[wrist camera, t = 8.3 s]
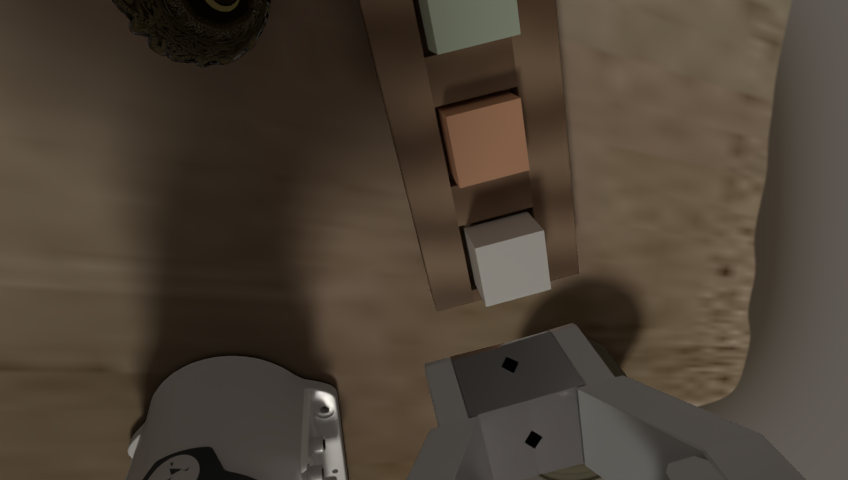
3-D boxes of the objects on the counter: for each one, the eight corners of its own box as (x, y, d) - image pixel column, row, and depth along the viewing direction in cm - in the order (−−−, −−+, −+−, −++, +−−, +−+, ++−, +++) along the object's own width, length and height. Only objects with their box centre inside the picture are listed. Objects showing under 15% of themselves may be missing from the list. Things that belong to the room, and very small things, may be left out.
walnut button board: (564, 256, 44) (579, 273, 41) (430, 292, 43) (437, 311, 41) (529, -93, 32) (546, -101, 29) (346, -49, 32) (346, -53, 29)
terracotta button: (513, 156, 38) (529, 170, 35) (449, 172, 38) (459, 188, 34) (504, 89, 36) (520, 97, 32) (436, 106, 35) (445, 117, 32)
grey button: (534, 266, 40) (551, 289, 37) (474, 283, 40) (486, 306, 37) (527, 211, 38) (543, 230, 35) (463, 228, 38) (475, 248, 35)
